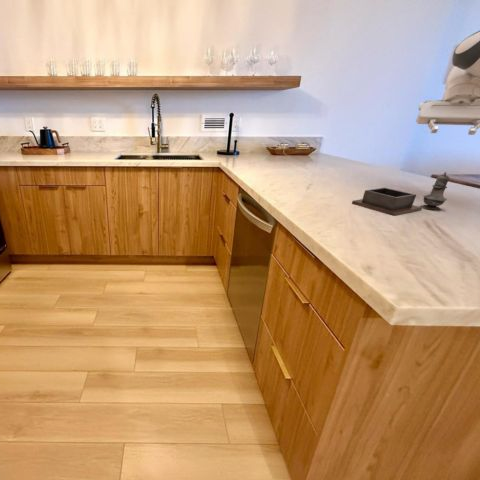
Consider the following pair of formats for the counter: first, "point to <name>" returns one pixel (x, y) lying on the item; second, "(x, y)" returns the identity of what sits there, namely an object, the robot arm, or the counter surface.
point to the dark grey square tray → (388, 201)
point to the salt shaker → (436, 194)
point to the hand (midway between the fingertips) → (452, 132)
